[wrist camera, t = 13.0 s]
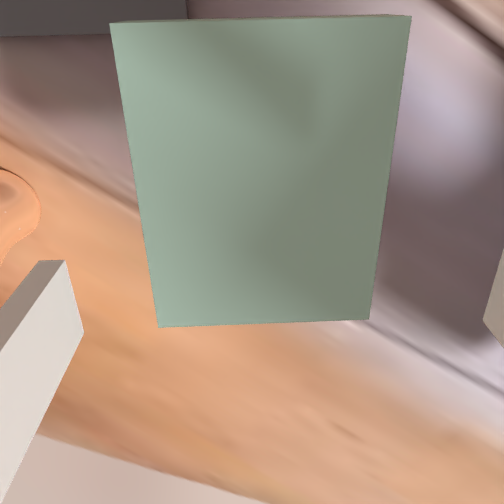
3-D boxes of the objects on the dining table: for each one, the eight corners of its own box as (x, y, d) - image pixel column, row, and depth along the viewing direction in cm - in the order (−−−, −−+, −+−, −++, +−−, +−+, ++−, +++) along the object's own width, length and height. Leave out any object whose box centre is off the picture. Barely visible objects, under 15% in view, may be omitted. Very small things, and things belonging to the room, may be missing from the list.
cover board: (386, 14, 19) (411, 16, 16) (355, 287, 25) (368, 319, 23) (127, 20, 18) (109, 23, 16) (166, 294, 25) (158, 327, 23)
